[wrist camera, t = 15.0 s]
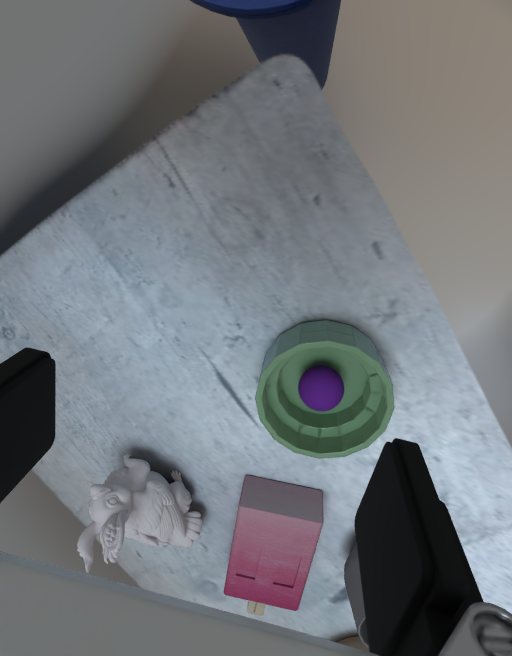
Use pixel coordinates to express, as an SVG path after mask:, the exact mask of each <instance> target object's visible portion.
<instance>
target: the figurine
mask: <svg viewBox="0 0 512 656" xmlns="http://www.w3.org/2000/svg"><path fill="white" fill-rule="evenodd" d="M130 456H131V455H128V454H126V455H125V456H124V457H123V460H124V465H125V466H126V467H127V468H126V469H124V468H123V469H118V470H115V471H113V472H112V473H111V474H110V475H109V476H108V478H107V480H105V483H104V484H102V485H101V484H95V485H93V486H91V487H90V494H91V495H90V497H91V499H90V501H89V507H90V513H89V514H90V516H91V518H92V519H93V520H94V522H93V523H91V524H90V525H89V526H88V527H87V528H86V529H85V530H84V531H83V532H82V534H81V536H80V537H79V541H78V544H77V547H78V552H80V556H82V557H83V558H84V562H85V568H86V572H87V573H88V572H90V567H91V565H92V563H93V558H94V557H93V542H94V539H95V537H96V536H97V535H99V534H100V539H101V544H102V546H103V548H102V549H103V553H104V552H105V553H104V560H105V562H106V563H107V564H108V562H107V558H109V560H110V561H111V562H113V563H116V561H115V560H114V557H115V558H117V557H119V556H118V552H119V550H120V548H121V546H122V544H123V540H124V537H126V538H129V539H136V540H138V541H140V542H142V543H145V544H148V545H152V546H158V545H162V546H168V545H169V543H168V542H167V541H168V540H170V542H171V543H172V545H174V546H176V547H183V548H190V547H192V546H193V541H196V540H199V539H200V534H199V533H201V531H202V527H201V526H202V525H203V522H202V520H201V519H200V518H201V514H200V513H199V512H197V511H193V512H188V510H189V508H190V503H191V502H192V499H191V496H190V493H189V491H188V490H187V489H186V488H185V486H184V484H183V483H182V480H181V475H180V474H181V473H180V472H179V474H178V472H177V471H176V470H175V471H173V470H172V473H171V476H172V478H173V479H174V481H175V482H173V483H171V484H169V483H168V482H167V481H166V479H165V478H164V477H163V476H162V475H160V474H159V473H157V472H154V471H150V470H151V469H150V466H149V463H148V462H146V461H144V460H141V459H130V458H129V457H130ZM103 553H102V554H103Z"/></svg>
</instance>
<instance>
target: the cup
mask: <svg viewBox="0 0 512 656" xmlns="http://www.w3.org/2000/svg"><path fill="white" fill-rule="evenodd" d="M344 580H345V585H346V589H347V593H348V596H349V600H350V604H351V608H352V612H353V616H354V620H355V624H356V628H357V631H358V635H359V637H360V639H361V641H362V643H363V644H365V645H366V646H367V647H368V648H369V645H368V636H367V627H366V619H365V610H364V602H363V593H362V585H361V576H360V567H359V559H358V550H357V542H356V543H355V545H354V547H353V549H352V551H351V553H350V555H349V557H348V558H347V560H346V563H345V568H344Z"/></svg>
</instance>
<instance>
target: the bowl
mask: <svg viewBox="0 0 512 656" xmlns="http://www.w3.org/2000/svg"><path fill="white" fill-rule="evenodd" d="M337 643H340V644H343V645H346V646H350V647H353V648H357V649H360V650H363V651H367V652H369V648H368V647H367V646H366V645H365V644H363V643H362V641H361V639H360V637H359V636H355V637H349V638H345V639H343V640H341V641H338V642H337Z"/></svg>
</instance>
